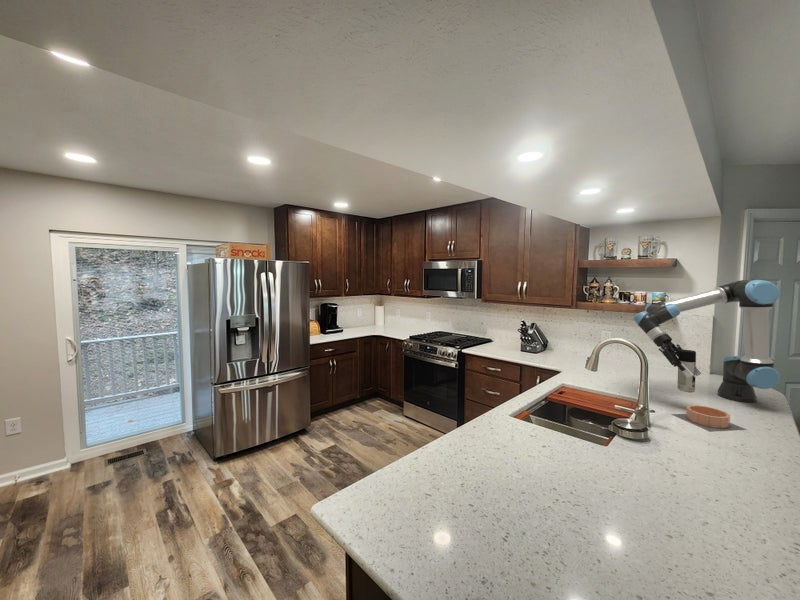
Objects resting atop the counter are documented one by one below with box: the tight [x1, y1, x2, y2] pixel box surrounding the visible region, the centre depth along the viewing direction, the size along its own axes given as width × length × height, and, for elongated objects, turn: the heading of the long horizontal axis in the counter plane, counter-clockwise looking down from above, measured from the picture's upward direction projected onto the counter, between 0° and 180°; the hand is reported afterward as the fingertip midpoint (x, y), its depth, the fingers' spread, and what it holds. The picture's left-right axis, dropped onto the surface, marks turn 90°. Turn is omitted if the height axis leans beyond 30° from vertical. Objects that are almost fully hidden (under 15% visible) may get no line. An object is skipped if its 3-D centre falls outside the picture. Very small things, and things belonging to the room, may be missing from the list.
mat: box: [670, 413, 748, 432], centre depth 149 cm, size 18×18×1 cm
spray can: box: [676, 349, 697, 393], centre depth 164 cm, size 7×7×20 cm
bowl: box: [685, 404, 731, 429], centre depth 149 cm, size 14×14×5 cm
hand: (695, 375), depth 161 cm, fingers closed on spray can, 7 cm apart
